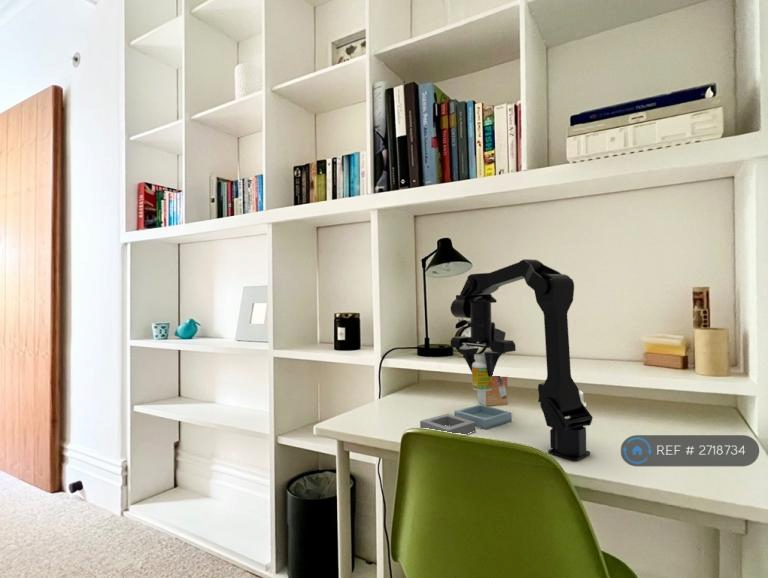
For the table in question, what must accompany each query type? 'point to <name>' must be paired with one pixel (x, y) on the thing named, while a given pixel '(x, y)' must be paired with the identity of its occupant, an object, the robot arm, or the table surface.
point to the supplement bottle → (480, 374)
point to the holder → (455, 424)
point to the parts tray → (484, 416)
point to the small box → (495, 393)
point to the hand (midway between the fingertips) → (482, 375)
